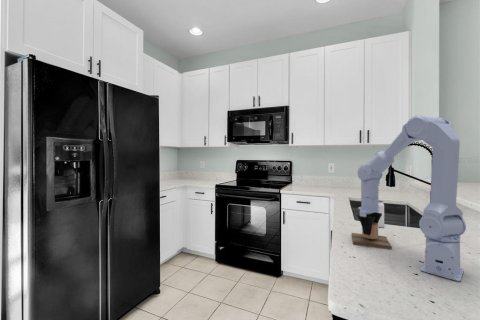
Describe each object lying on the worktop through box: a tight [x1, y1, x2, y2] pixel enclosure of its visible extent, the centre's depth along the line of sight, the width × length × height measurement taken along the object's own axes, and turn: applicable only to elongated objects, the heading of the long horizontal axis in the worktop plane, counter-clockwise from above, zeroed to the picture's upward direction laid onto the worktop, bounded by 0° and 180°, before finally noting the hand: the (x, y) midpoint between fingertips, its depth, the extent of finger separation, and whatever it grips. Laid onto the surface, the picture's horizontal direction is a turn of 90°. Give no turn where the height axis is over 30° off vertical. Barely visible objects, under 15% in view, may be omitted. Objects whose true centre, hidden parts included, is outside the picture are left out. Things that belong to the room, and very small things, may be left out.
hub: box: [361, 223, 379, 239], centre depth 87 cm, size 5×5×5 cm
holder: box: [351, 232, 393, 250], centre depth 87 cm, size 12×12×5 cm
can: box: [377, 199, 385, 228], centre depth 109 cm, size 6×6×12 cm
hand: (369, 232), depth 87 cm, fingers closed on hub, 5 cm apart
